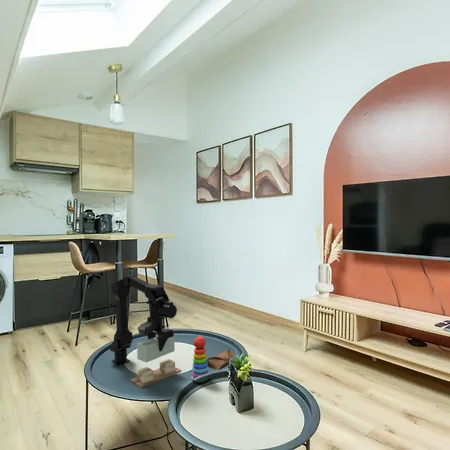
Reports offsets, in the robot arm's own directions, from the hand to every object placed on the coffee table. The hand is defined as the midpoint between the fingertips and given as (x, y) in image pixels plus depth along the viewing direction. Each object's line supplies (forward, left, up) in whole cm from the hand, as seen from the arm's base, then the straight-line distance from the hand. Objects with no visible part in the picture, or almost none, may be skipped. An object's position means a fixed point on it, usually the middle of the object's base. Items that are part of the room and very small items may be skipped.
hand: (156, 349), depth 148 cm
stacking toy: (+17, +11, -12) cm, 24 cm away
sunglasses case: (+12, +31, -13) cm, 36 cm away
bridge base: (0, 0, -12) cm, 12 cm away
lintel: (0, 0, -3) cm, 2 cm away
